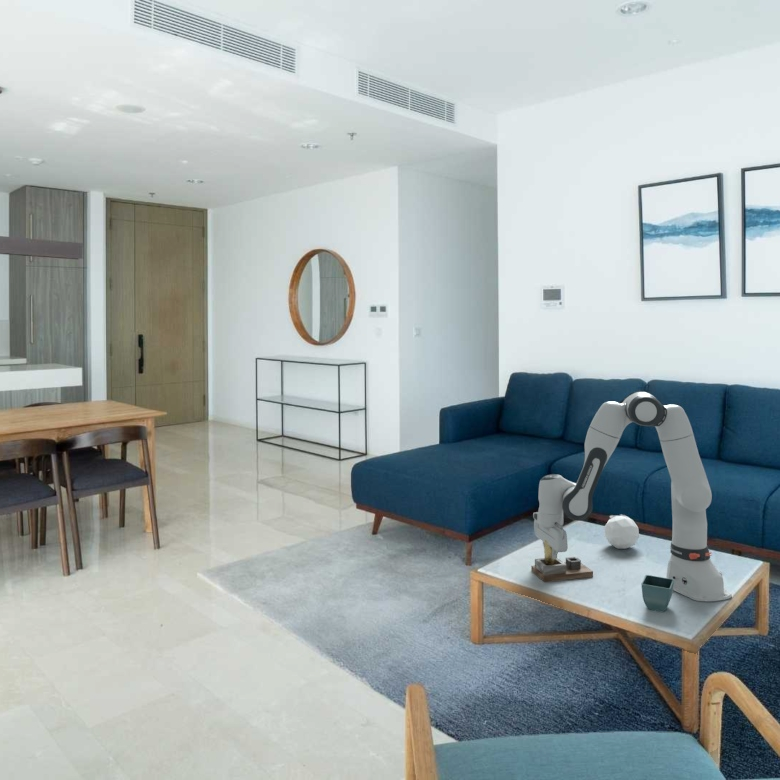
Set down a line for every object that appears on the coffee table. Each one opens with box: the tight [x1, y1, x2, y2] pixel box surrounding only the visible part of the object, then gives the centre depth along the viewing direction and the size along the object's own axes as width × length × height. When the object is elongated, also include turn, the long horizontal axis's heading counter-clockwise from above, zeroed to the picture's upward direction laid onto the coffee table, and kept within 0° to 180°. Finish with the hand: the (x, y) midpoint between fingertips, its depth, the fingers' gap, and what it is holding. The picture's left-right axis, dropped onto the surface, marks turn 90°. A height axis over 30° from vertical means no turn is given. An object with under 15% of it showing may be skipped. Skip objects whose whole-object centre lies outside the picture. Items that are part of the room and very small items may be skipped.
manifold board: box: [530, 556, 594, 583], centre depth 252 cm, size 11×19×5 cm, turn 102°
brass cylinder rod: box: [544, 540, 556, 565], centre depth 251 cm, size 4×4×10 cm
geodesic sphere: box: [603, 513, 640, 550], centre depth 279 cm, size 14×14×14 cm
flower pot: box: [641, 574, 674, 613], centre depth 221 cm, size 9×9×9 cm
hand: (550, 556), depth 251 cm, fingers closed on brass cylinder rod, 4 cm apart
